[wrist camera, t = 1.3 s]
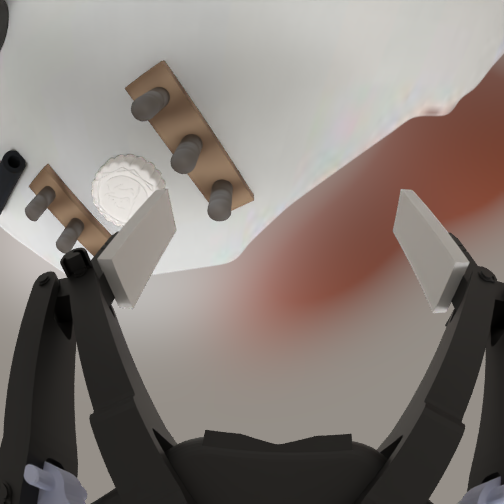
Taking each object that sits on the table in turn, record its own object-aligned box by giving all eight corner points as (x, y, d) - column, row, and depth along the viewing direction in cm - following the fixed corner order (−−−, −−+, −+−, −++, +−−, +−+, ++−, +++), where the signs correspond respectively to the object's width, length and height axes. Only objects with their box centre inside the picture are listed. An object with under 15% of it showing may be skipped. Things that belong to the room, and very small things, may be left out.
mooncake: (108, 142, 36) (98, 151, 33) (178, 172, 40) (173, 183, 37) (92, 202, 42) (83, 214, 40) (152, 228, 47) (147, 241, 44)
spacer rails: (33, 182, 38) (10, 205, 32) (164, 60, 28) (145, 65, 23) (113, 266, 52) (101, 295, 47) (253, 195, 43) (255, 224, 37)
